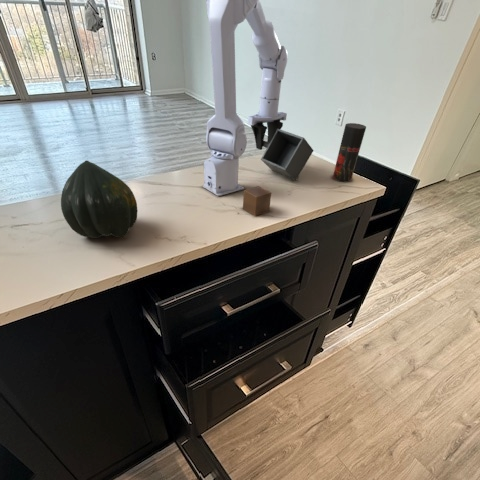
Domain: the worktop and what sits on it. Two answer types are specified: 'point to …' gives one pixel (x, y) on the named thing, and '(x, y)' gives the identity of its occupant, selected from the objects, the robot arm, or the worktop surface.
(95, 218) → the squash
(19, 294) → the worktop surface
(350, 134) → the deodorant
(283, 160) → the basket
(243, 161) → the worktop surface
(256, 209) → the block
